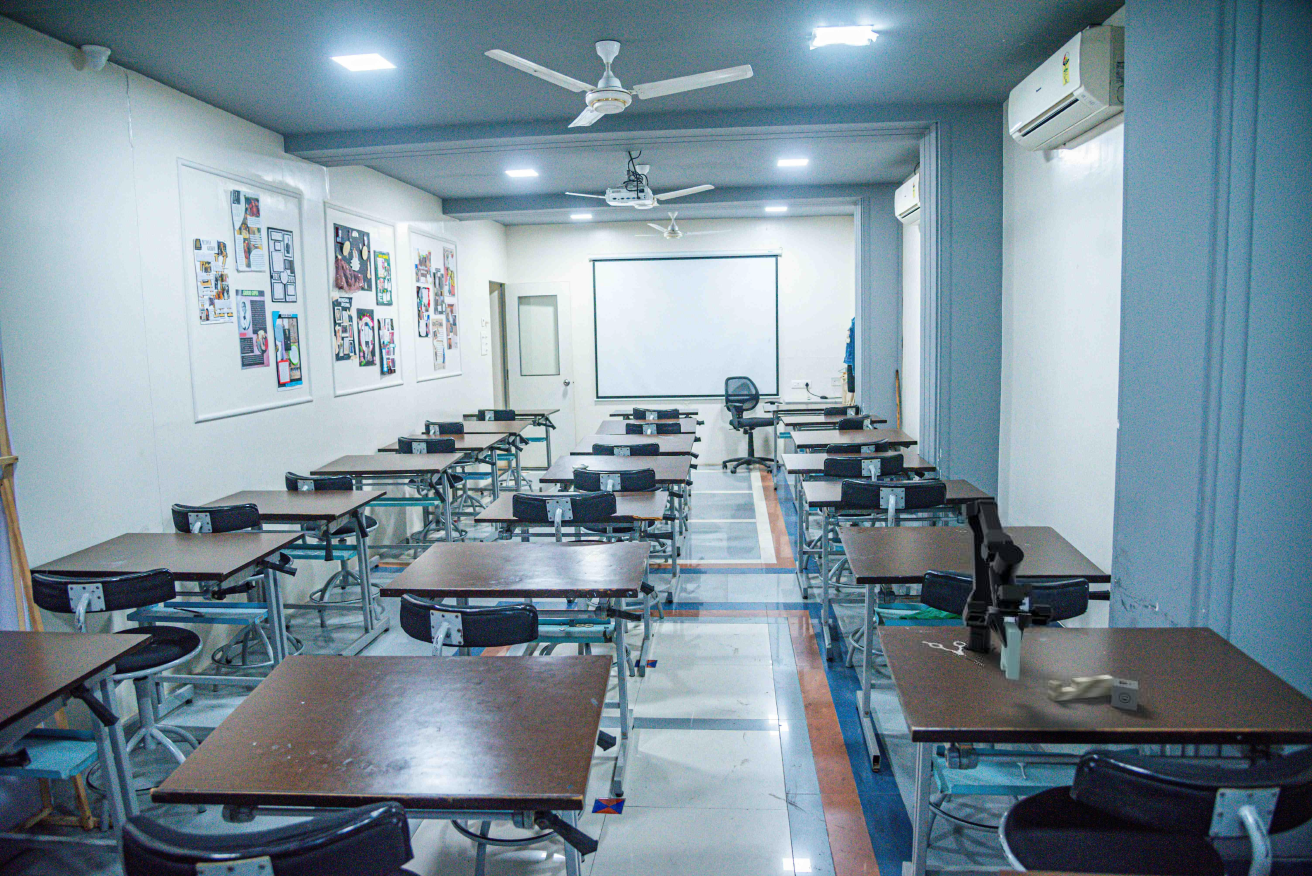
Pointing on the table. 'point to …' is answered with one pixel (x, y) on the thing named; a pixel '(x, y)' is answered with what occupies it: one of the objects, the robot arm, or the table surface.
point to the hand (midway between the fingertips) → (1012, 647)
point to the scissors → (948, 649)
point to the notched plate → (1011, 651)
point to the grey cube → (1124, 694)
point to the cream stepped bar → (1081, 688)
